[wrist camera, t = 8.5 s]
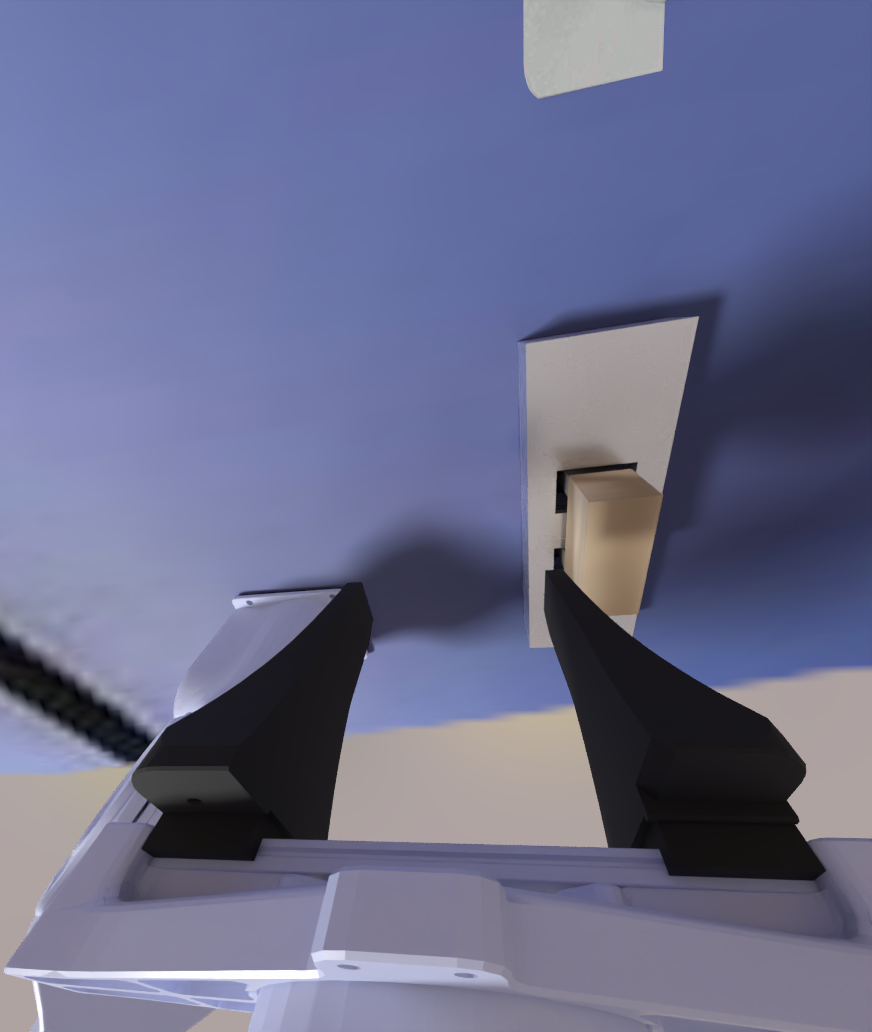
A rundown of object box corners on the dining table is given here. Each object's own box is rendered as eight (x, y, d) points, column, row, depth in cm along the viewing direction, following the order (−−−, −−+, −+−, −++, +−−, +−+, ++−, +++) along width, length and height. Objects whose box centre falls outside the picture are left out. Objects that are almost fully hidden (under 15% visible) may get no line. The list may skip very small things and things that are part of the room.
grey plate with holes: (523, 621, 26) (529, 648, 24) (517, 341, 17) (525, 343, 14) (616, 616, 25) (630, 643, 23) (666, 317, 16) (698, 316, 14)
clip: (551, 551, 23) (578, 617, 18) (554, 455, 19) (589, 502, 14) (596, 548, 22) (638, 614, 17) (607, 449, 19) (663, 495, 14)
